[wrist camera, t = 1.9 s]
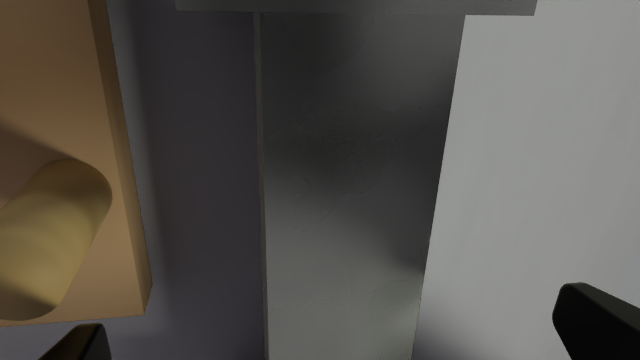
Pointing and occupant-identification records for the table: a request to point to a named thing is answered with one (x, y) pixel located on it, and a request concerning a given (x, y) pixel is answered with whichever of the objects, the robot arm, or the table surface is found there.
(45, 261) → the peg rack
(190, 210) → the table surface
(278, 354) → the grey long bar
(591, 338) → the robot arm
